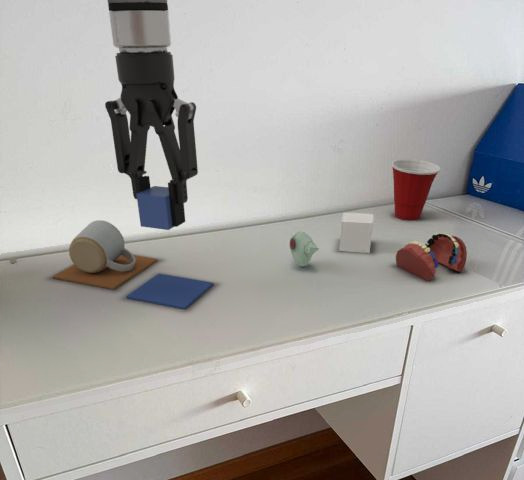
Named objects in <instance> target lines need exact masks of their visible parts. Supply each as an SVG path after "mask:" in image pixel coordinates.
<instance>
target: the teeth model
mask: <svg viewBox="0 0 524 480" xmlns="http://www.w3.org/2000/svg"><path fill="white" fill-rule="evenodd" d="M467 257H468V251H467V246H466V243H465V242H464V241H463V240H462V238H460V237H458V236H456V235H451V234H448V233H445V232H442V233H440V232H439V233H437V234H436V233H435V234H434V233H433V234H432V235H431V237H430V238H429V239H428V240H427V241H426V243H425V244H424V243H423V242H420V241H417V240H412V241H410V242H409V243H407V244H405V245H404V247H401V248H400V249H399V250H397V251H396V254H395V263H396V267H398V268H400V269H402V270H404V271H406V272H408V273H409V274H412V275H415V276H416V277H418V278H420V279H422V280H424V281H426V282H429V281H431V280H432V279H433V278H435V275H436V273H437V269H438V267H439V264H440V265H443V266H446V267H447V268H449V269H451V270H452V271H455V272H460V273H463V271H464V268H465V266H466V263H467Z"/></svg>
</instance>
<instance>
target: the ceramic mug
mask: <svg viewBox="0 0 524 480" xmlns="http://www.w3.org/2000/svg"><path fill="white" fill-rule="evenodd" d="M68 254H69V258H70V260H71V262H72V263H73V265H75V266H76V267H78V268H79V269H80V270H82V271H84V272H87V273H98V272H100V271H102V270H104V269H105V268H107V267H109V268H110V269H112V270H116V271H119V272H126V271H130V270H132V269H133V267H134V264H135V261H136V260H135V257H134V255H135V254H133V253H132V252H131V251H130V250H129V249H127V248H126V247H125V238H124V236H123V234H122V233H121V231H120V230H119V229H118V228H117V227H116V226H115V225H114V224H113V223H111V222H109V221H106V220H101V219H99V220H93V221H91V222H90V223H88V224H87V225H86V227H84V228H83V229H82V230H81V231H80V232H79V233H78V234H76V236H75V237H73V239H72V240H71V243H70V244H69V247H68ZM120 255H123V256H124V257H126V258H127V259H128V260H129V261H130V262H131V264H128V265H122V264H118V263H115V262H114V261H115V260H116V259H117V258H118V257H120Z"/></svg>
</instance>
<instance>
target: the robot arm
mask: <svg viewBox="0 0 524 480" xmlns="http://www.w3.org/2000/svg"><path fill="white" fill-rule="evenodd" d="M107 6H108V7H107V8H108V11H109V12H108V14H109V21H110V30H111V36H112V45H113V47H114V48H117V49H118V52H117V53H116V55H115V56H114V57H115V64H116V71H117V78H118V82H119V83H120V84H121V92H120V97H118V98H117V99H112V100H107V101H105V104H104V105H105V110H106V111H107V114H108V117H109V119H110V125H111V133H112V138H113V139H112V140H113V144H114V145H113V146H114V153H115V160H116V167H117V171H118V172H119V173H120V174H125V175H127V176H128V177H129V178H130V182H131V188H132V195H133V198H134V199H135V200H137V195H136V194H137V193H140V192H142V191H144V190H146V189H149V188H151V187H152V186H151V180H150V179H151V178H150V175H145V174H147V173H148V172H147V170H145V169H146V168H145V167H146V158H147V157H146V156H147V143H148V133H149V130H150V128H151V127H152V128H153V129H154V132H155V134H156V135H157V136H158V139H159V141H160V145H161V148H162V151H163V155H164V157H165V161H166V164H167V168H168V170H169V173H170V176H171V179H170V180H169V182H167V187H168V189H169V197H170V207H171V217H172V226H174V227H173V228H175V227H176V228H177V227H179V226H181V225H183V224H184V223H186V212H185V203H187V202H188V198H189V197H188V186H187V181H188V180H189V179H192V178H193V177H196V176H197V175H198V173H199V168H198V159H197V145H196V134H195V133H196V132H195V123H194V122H195V121H194V120H195V116H196V111H197V105H196V103H195V102H192V101H191V102H187V101H185V100H182V99H180V98H179V96H178V94H177V92H176V90H175V86H174V85H175V67H174V57H173V54H172V52H171V51H168V48H170V46H172V37H171V27H170V13H169V5H168V0H107ZM127 112H128V114H129V120H128V116H127ZM174 112H175V116H176V117H177V134H178V135H176V132H175V129H176V125H175V123H174V122H175V121H174V119H173V113H174ZM177 136H178V138H177Z"/></svg>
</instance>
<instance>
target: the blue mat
mask: <svg viewBox="0 0 524 480" xmlns="http://www.w3.org/2000/svg"><path fill="white" fill-rule="evenodd" d="M214 283H215V282H211V281H206V280H200V279H194V278H193V279H192V278H189V277H181V276H176V275H170V274H164V273H157V274H156V275H154V276H153V277H152V278H150V279H149V280H147V281H146V282H144V283H143V284H141V285H140V286H139V287H137V288H136V289H135V290H133V291H132V292H130V293H128V294H127V295H126V299H128V300H133V301H139V302H145V303H150V304H155V305H161V306H166V307H171V308H176V309H182V310H186V309H188V308H189V307H190V306H191V305H192V304H193V303H194V302H196V301H197V300H198V299H199V298H200V297H202V296H203V294H205V293H206V292H207V291H208V290H209V289H211V288H212V287H213V286H214V285H215V284H214Z"/></svg>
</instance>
